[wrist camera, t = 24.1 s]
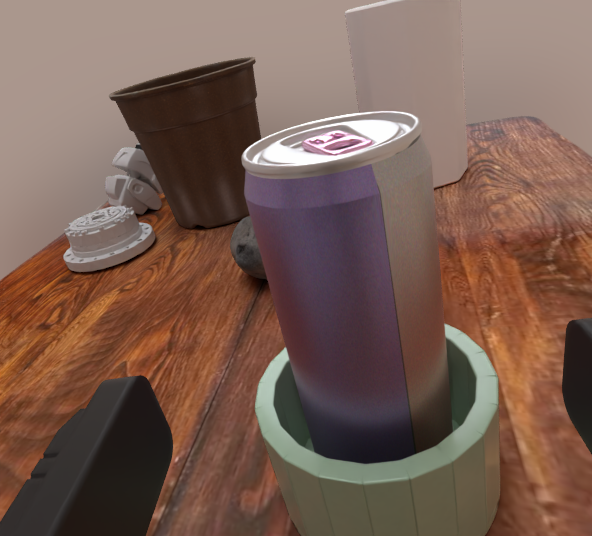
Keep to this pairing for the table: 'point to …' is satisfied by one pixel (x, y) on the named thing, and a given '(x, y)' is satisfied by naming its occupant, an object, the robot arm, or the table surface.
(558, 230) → the table surface
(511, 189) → the table surface
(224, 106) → the plant pot
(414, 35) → the cup
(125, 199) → the grey blocky piece
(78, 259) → the mechanical component
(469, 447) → the holder
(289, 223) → the beverage can
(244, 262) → the stone
